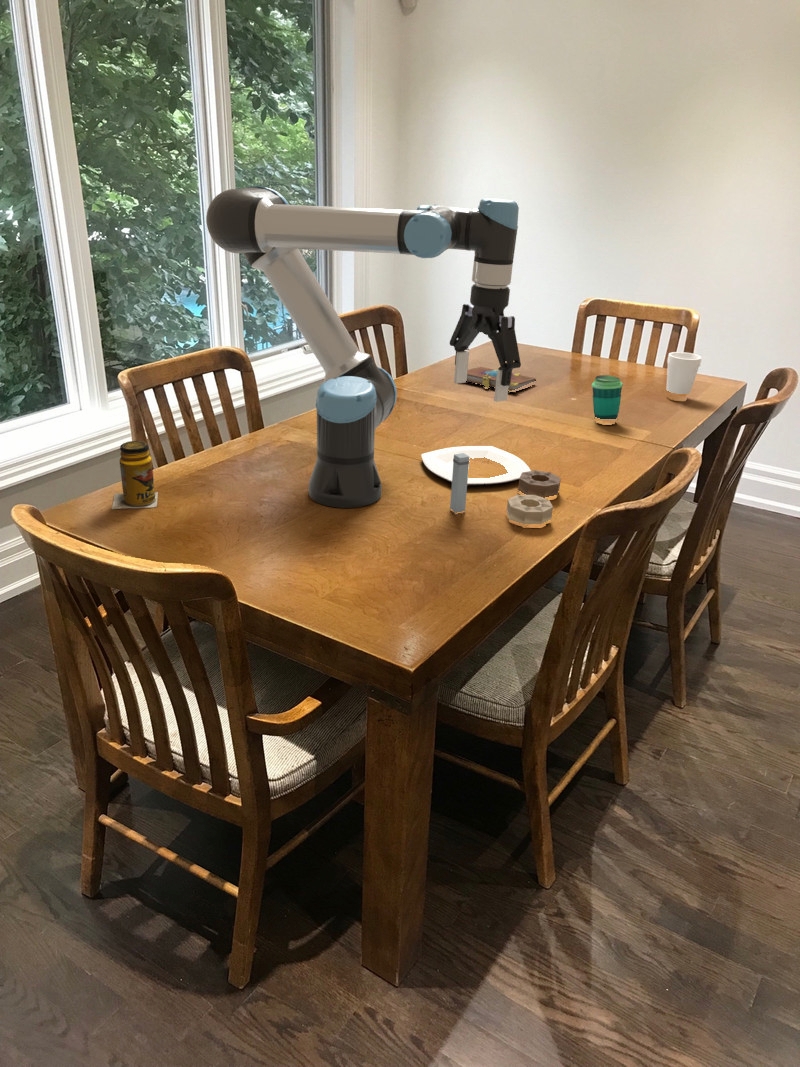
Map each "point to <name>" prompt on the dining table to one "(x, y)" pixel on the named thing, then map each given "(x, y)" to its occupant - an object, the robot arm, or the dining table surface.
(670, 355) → the foam cup
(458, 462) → the long pale blue brick
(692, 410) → the dining table surface
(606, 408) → the cup
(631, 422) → the dining table surface
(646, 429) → the dining table surface
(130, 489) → the condiment
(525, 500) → the maple bead
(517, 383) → the book
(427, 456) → the plate
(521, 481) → the walnut bead
